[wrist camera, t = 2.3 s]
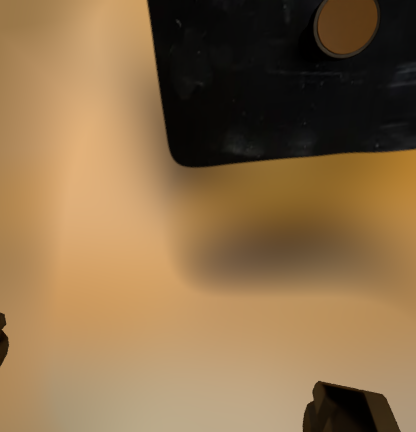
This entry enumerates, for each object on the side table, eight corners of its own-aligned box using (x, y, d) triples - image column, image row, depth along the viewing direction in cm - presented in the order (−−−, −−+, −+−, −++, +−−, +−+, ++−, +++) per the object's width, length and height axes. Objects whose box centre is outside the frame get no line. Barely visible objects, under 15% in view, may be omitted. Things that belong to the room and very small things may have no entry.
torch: (289, 63, 35) (305, 53, 24) (300, 14, 33) (323, -22, 22) (332, 70, 34) (369, 63, 23) (345, 20, 33) (392, -12, 22)
